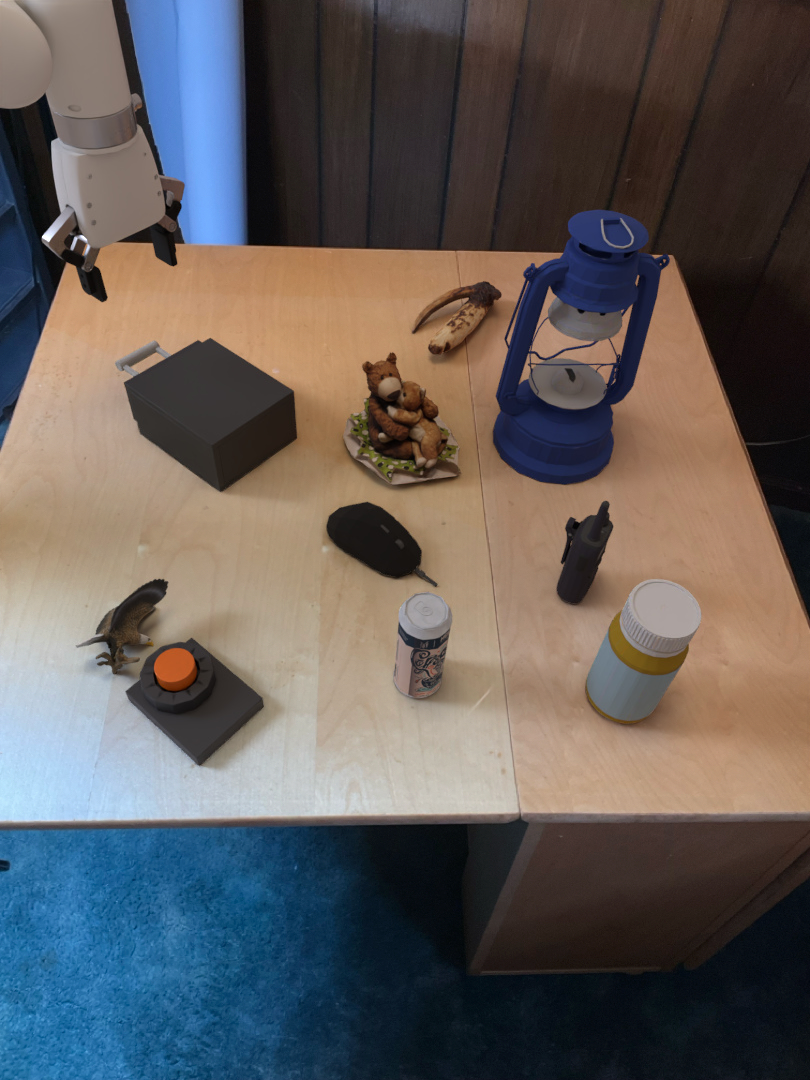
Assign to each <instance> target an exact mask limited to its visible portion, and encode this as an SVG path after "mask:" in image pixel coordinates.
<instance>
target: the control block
mask: <svg viewBox="0 0 810 1080" xmlns="http://www.w3.org/2000/svg"><path fill="white" fill-rule="evenodd" d="M173 648H181V649H185V650H187V651H189V652H190V653H191V654H192V656H193V657H194V661H195V664H196V668H197V676H196V678H195V680H194V682H193V683H192V684H191V685H190V686H189V687H187V688H185V689H183V690H180V691H169V690H166V689H164V688H163V687H162V686H161V685H160V684H159V682H158V680H157V677H156V674H155V671H154V664H155V661H156V659H157V658H158V657H159V656H160V655H161V654H162V653H163V652H165V651H167V650H169V649H173ZM125 695H126V697H127V699H128V701H129V702H130V703H131V704H132V705H133V706H134V707H135V708H136V709H137V710H138V711H139V712H141V713H142V714H143V715H144V717H146V718H147V719H148V720H149V721H150V722H151V723H152V724H154V725H155V727H157V728H158V729H159V730H160V731H161V732H162V733H163V734H164V735H165V736H166V737H168V738H169V739H170V740H171V741H172V742H173V743H174V744H175V745H176V746H177V747H178V748H179V749H180V750H181V751H182V752H184V754H185V755H187V756H188V758H190V759H191V760H192V761H193V762H194V763H195V764H196V765H197V766H198V767H199V766H201V765H202V764H204V763H205V761H207V760H208V759H209V758H210V757H211V756H212V755H213V754H215V752H217V750H219V749H220V748H221V747H222V746H223V745H224V744H225V743H226V742H227V741H229V740H230V739H231V737H233V736H234V735H235V734H236V733H238V731H239V730H241V728H242V727H244V725H246V724H247V723H248V722H249V721H250V720H251V719H252V718H254V716H255V715H256V714H257V713H259V712H260V711H261V710H262V709H263V708H264V706H265V703H264V698H263V697H262V696H261V695H260V694H259V693H258V692H256V691H255V690H254V689H253V688H251V687H250V686H249V685H248V684H247V683H246V682H245V681H243V679H241V678H240V677H239V676H238V675H237V674H235V673H234V672H233V671H232V670H230V669H229V668H228V667H227V666H226V665H225V664H224V663H223V662H221V661H220V660H219V659H218V658H217V657H216V656H214V655H213V654H212V653H211V652H209V651H208V650H207V649H206V648H205V647H204V646H202V645H201V644H200V643H199V642H198V641H197V640H196V639H194V638H193V637H191V638H189V639H188V640H187V641H185V642H184V641H178V642H174V643H173V642H172V643H170V644H165V645H162V646H160V647H159V648H157V649H156V650H155V651H154V652H152V653H151V654H150V655H149V656H148V657H147V658H145V661H144V663H143V665H142V668H141V670H140V673H139V680H137V681H136V682H135V683H133V684H132V685H131V686H130V687H129V688H127V689H126V690H125Z"/></svg>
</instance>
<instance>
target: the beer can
mask: <svg viewBox="0 0 810 1080" xmlns="http://www.w3.org/2000/svg"><path fill="white" fill-rule="evenodd" d="M397 616H398V625H397V636H396V649H395V660H394V669H393V673H392V677H393V678H392V679H393V682H394V685H395V686H396V688H397V690H398V691H399V692H401V694H403V695H405V696H407V697H409V698H413V699H425V698H428V697H430V696H432V695H433V694H435V693H436V692H437V691H438V690H439V688H440V687H441V685H442V681H443V679H442V678H443V673H444V672H443V671H444V665H445V660H446V656H447V650H448V644H449V638H450V632H451V627H452V624H453V616H454V615H453V611H452V609H451V607H450V605H449V604H448V603H447V602H446V601H445V600H444V598H443V597H442V596H440V595H438V594H435V593H433V592H431V591H423V592H416V593H413V595H411V596H410V597H408V598H406V599H405V601H404V602H403V603H402V604H401V606H400V607H399V610H398V615H397Z"/></svg>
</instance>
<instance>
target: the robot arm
mask: <svg viewBox="0 0 810 1080" xmlns="http://www.w3.org/2000/svg"><path fill="white" fill-rule="evenodd" d="M44 95H45V96H46V100H47V103H48V106H49V110H50V114H51V118H52V121H53V125H54V127H55V132H56V135H57V138H55V139H53V140H51V145H50V150H51V165H52V174H53V175H52V176H53V180H54V187H55V193H56V197H57V201H58V206H59V211H60V214H59V216H58V217H57V218H56V219H55V220H54V221H53V223H52V224H51V225H50V226H49V228H47V230H46V231H45V232H44V233H43V235H42V236H41V242H42V244H44V245H45V246H46V247H47V248H48V249H49V250H50V251H51V252H52V253H54V254H55V256H56V257H58V258H59V259H61V260H63V261H64V262H65V263H67V264H69V265H71V266H74V267H75V269H76V272H77V275H78V276H77V277H78V280H79V282H80V286H81V289H82V290H83V292H84V293H85V294H87V295H88V296H91V297H93V298H94V299H96V300H97V301H99V302H100V303H105V302H107V301H108V293H107V290H106V286H105V283H104V279H103V276H102V272H101V269H100V268H99V267H98V266H96V265H95V264H96V261H97V259H98V256H99V254H100V250H101V249H102V248H105V247H108V246H110V245H113V244H115V243H116V242H119V241H122V240H123V239H125V238H128V237H130V236H132V235H135V234H136V233H139V232H140V231H142V230H145V229H147V228H149V232H150V236H151V241H152V242H151V243H152V247H153V251H154V255H155V257H156V258H157V260H160V261H161V262H163V263H164V264H166V265H168V266H170V267H176V266H177V265H178V258H177V247H176V241H175V237H174V232H175V231H176V230H177V228H178V227H177V225H178V224H177V219H178V217H179V215H180V213H181V210H182V208H183V205H182V203H181V201H182V200H183V197H184V193H185V187H186V184H185V183H184V181H183V180H180V179H179V178H177V177H172V176H167V175H162V174H159V171H158V167H157V164H156V161H155V157H154V154H153V152H152V148H151V146H150V143H149V142H148V139H147V137H146V135H145V132H144V129H143V128H142V126H141V125H139V124H138V121H137V116H136V112H137V111H138V109H141V108H143V100H142V99H141V96H140V95H139V94H138V93H136V92H135V93H132V94H131V90H130V84H129V79H128V75H127V70H126V64H125V60H124V55H123V50H122V45H121V40H120V35H119V30H118V24H117V20H116V16H115V9H114V5H113V0H0V109H9V110H10V109H12V110H13V109H22V108H24V107H25V108H26V107H28V106H30V105H32V104H34V103H36V102H37V101H39V100H40V99H41V98H42V97H43V96H44ZM164 191H166V197H165V196H164ZM69 235H70V236H74V237H73V240H72V244H71V246H70V248H69V247H67V245H66V244H65V240H66V238H68V236H69Z"/></svg>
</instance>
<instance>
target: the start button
mask: <svg viewBox="0 0 810 1080" xmlns="http://www.w3.org/2000/svg"><path fill="white" fill-rule="evenodd" d="M154 671H155V674H156V677H157V680H158V682H159V684H160V685H161V686H162V687H163V688H164V689H166V690H169V691H180V690H183V689H185V688H187V687H189V686H190V685H191V684H192V683H193V682H194V680H195V678H196V676H197V668H196V664H195V661H194V657H193V656H192V654H191V653H190V652H189V651H187V650H185V649H181V648H173V649H169V650H167V651H165V652H163V653H162V654H161V655H160V656H159V657H158V658H157V659H156V661H155V664H154Z"/></svg>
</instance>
